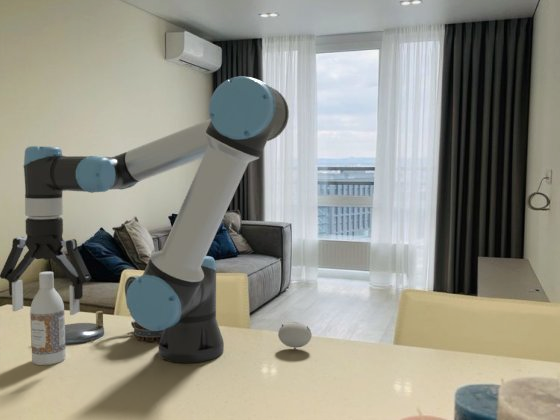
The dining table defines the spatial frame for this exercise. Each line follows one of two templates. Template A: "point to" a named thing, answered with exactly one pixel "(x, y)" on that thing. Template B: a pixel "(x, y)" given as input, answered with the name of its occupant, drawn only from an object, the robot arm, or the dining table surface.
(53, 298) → the bath foam
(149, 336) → the mug
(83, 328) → the disc
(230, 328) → the dining table surface
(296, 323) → the figurine
